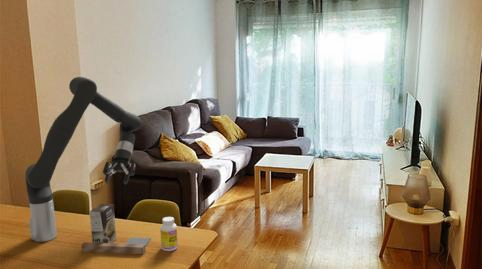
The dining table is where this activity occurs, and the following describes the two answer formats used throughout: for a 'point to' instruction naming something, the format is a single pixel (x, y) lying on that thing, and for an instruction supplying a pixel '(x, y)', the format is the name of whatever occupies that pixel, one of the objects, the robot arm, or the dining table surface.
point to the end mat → (138, 241)
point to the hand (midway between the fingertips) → (115, 183)
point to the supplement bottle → (168, 234)
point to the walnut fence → (113, 248)
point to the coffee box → (103, 224)
